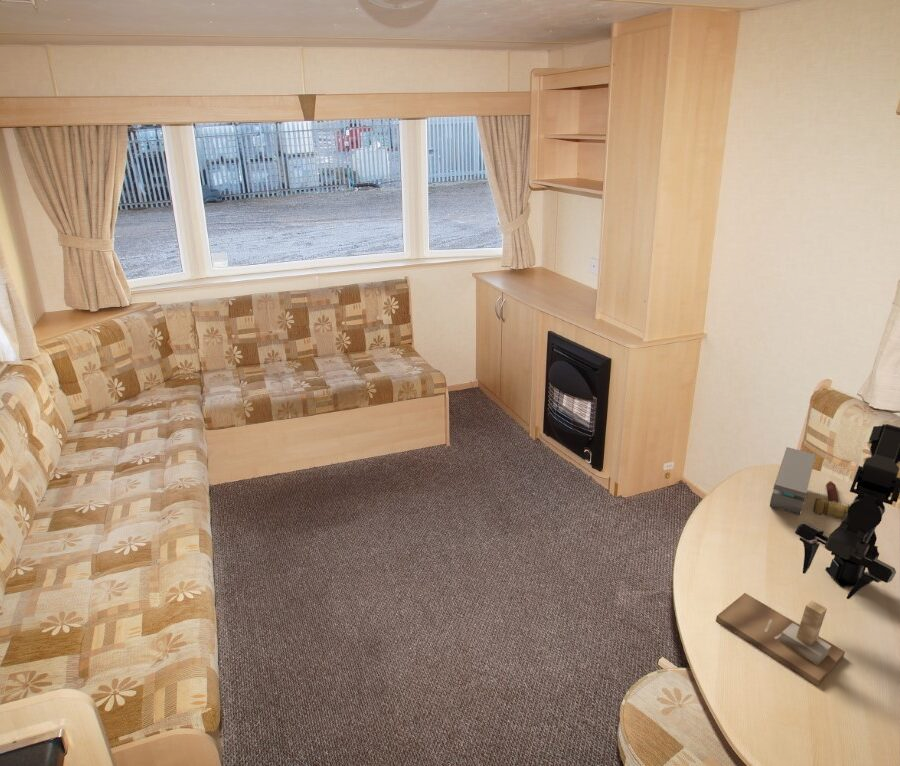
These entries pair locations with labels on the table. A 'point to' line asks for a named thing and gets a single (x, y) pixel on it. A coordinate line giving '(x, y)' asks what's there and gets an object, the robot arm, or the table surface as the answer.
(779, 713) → the table surface
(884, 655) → the table surface
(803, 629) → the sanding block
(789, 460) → the grey rectangular box
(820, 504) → the gavel
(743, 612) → the walnut board
